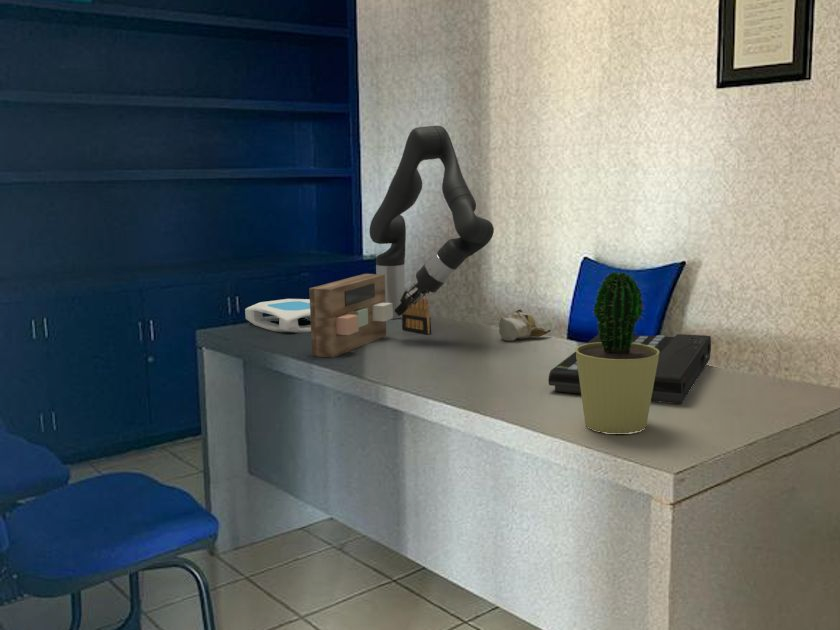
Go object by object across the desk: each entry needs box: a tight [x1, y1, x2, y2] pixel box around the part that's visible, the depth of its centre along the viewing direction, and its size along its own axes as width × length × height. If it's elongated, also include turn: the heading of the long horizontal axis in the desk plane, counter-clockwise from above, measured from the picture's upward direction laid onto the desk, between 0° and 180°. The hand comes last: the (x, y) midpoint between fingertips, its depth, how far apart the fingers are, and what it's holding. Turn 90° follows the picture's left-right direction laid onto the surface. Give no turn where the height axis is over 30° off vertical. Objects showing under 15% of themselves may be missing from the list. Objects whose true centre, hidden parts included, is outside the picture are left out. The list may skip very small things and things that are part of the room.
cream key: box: [372, 302, 393, 322], centre depth 245 cm, size 6×5×4 cm
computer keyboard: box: [547, 333, 712, 404], centre depth 200 cm, size 45×28×7 cm, turn 154°
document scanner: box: [244, 298, 311, 334], centre depth 272 cm, size 21×28×6 cm
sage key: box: [355, 308, 368, 327], centre depth 238 cm, size 6×5×4 cm
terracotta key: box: [336, 314, 359, 335], centre depth 228 cm, size 6×5×4 cm
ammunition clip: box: [401, 294, 432, 336], centre depth 255 cm, size 11×2×12 cm, turn 45°
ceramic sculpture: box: [498, 309, 552, 342], centre depth 243 cm, size 11×9×15 cm
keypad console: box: [308, 273, 387, 358], centre depth 238 cm, size 7×30×18 cm, turn 155°
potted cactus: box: [574, 270, 659, 433], centre depth 161 cm, size 15×15×30 cm
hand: (397, 313), depth 243 cm, fingers closed
